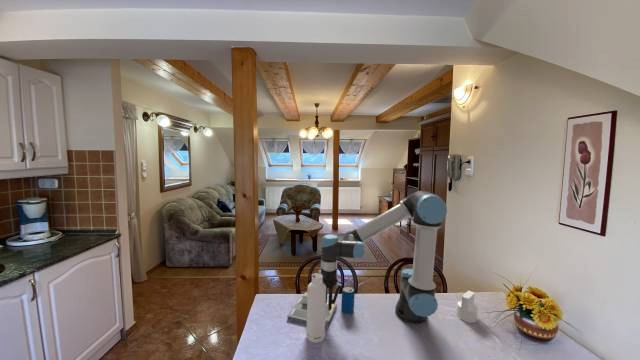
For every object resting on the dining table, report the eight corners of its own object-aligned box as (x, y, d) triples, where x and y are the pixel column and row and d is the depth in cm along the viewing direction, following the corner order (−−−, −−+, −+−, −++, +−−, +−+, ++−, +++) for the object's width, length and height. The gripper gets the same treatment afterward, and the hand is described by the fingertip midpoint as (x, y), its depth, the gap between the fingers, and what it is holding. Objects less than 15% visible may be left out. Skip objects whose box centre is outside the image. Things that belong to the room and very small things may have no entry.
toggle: (312, 300, 139) (312, 293, 138) (309, 304, 135) (309, 297, 135) (305, 299, 140) (305, 292, 140) (302, 303, 136) (302, 295, 136)
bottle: (318, 345, 110) (320, 282, 107) (302, 338, 114) (304, 277, 111) (327, 333, 117) (329, 274, 114) (312, 327, 121) (313, 269, 118)
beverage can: (350, 316, 130) (351, 294, 129) (338, 312, 133) (339, 290, 132) (355, 310, 135) (356, 288, 134) (344, 306, 139) (345, 284, 137)
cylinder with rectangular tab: (472, 325, 126) (475, 301, 125) (453, 316, 133) (455, 293, 132) (479, 317, 132) (481, 295, 131) (460, 309, 139) (462, 288, 138)
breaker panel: (336, 307, 137) (336, 303, 137) (326, 329, 120) (327, 324, 120) (301, 300, 143) (301, 296, 143) (287, 319, 126) (287, 315, 126)
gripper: (344, 267, 123) (342, 314, 125) (318, 262, 127) (316, 308, 129) (340, 274, 116) (338, 323, 118) (313, 269, 120) (311, 317, 122)
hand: (327, 315), depth 124 cm, fingers closed
